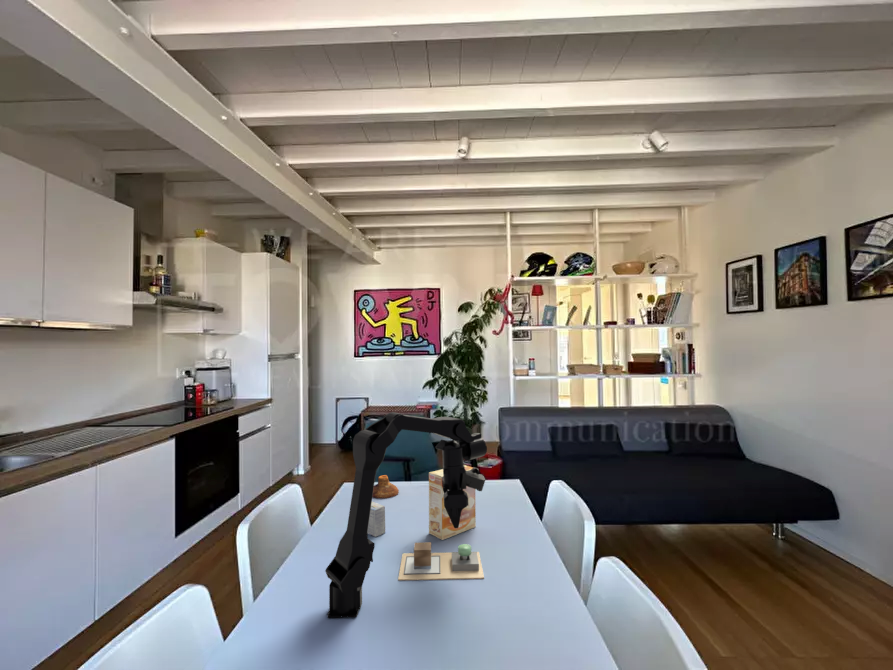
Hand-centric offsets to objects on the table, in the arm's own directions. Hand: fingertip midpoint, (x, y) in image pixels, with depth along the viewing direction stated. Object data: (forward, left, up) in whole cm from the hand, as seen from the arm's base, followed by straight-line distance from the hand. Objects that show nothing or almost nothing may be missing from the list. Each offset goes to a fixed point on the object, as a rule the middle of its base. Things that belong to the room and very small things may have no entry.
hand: (455, 520), depth 119 cm
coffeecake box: (0, +22, -12) cm, 25 cm away
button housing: (+2, -1, -12) cm, 12 cm away
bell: (-27, +60, -12) cm, 66 cm away
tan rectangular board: (-4, -1, -12) cm, 12 cm away
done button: (+2, -1, -10) cm, 11 cm away
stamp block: (-9, -1, -11) cm, 15 cm away
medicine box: (-26, +22, -12) cm, 36 cm away
